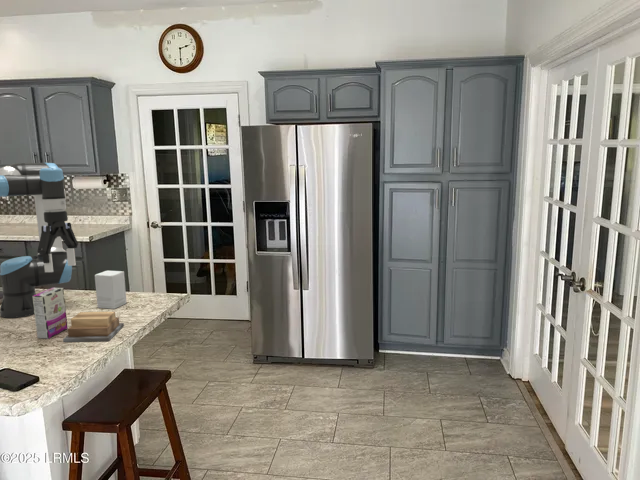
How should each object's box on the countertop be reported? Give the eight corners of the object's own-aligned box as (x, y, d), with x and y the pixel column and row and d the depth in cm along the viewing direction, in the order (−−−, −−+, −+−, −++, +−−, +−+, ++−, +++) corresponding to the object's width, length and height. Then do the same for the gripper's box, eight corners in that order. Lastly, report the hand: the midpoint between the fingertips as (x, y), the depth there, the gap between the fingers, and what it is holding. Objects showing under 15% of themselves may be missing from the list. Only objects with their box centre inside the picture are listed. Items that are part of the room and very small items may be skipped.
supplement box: (127, 303, 223) (125, 271, 221) (114, 309, 215) (112, 275, 212) (109, 301, 225) (107, 269, 223) (96, 307, 217) (93, 274, 214)
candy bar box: (56, 328, 192) (52, 287, 189) (68, 328, 191) (64, 287, 188) (35, 338, 181) (31, 295, 178) (48, 339, 180) (43, 296, 177)
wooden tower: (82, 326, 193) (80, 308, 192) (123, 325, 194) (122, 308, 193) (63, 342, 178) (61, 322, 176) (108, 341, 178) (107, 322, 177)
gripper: (42, 212, 167) (48, 274, 169) (84, 208, 191) (89, 262, 194) (21, 213, 168) (28, 275, 170) (66, 209, 192) (71, 263, 195)
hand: (61, 268), depth 182 cm, fingers open, 13 cm apart
